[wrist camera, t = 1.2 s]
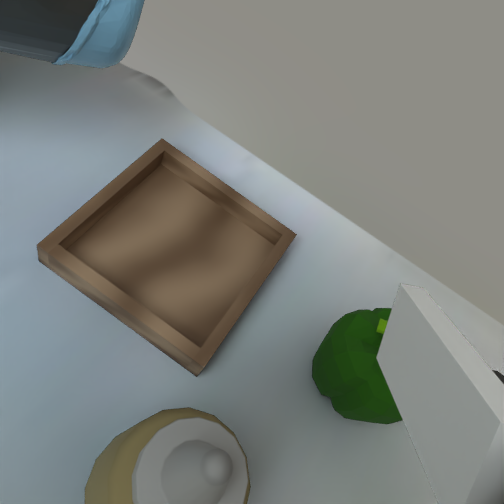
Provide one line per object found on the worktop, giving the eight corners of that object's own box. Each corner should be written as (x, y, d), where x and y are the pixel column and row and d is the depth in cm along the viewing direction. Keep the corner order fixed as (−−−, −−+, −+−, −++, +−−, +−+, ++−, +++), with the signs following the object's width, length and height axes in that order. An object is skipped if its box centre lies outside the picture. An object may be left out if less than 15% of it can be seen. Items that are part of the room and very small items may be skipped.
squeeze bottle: (71, 453, 30) (68, 383, 16) (189, 415, 34) (277, 329, 19) (97, 595, 27) (122, 676, 13) (223, 538, 31) (361, 548, 16)
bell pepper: (405, 388, 41) (489, 353, 32) (350, 455, 36) (431, 434, 28) (339, 314, 42) (403, 263, 34) (279, 369, 38) (335, 326, 30)
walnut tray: (38, 261, 36) (36, 244, 34) (158, 156, 44) (162, 138, 42) (196, 376, 35) (204, 367, 33) (286, 248, 44) (296, 234, 42)
